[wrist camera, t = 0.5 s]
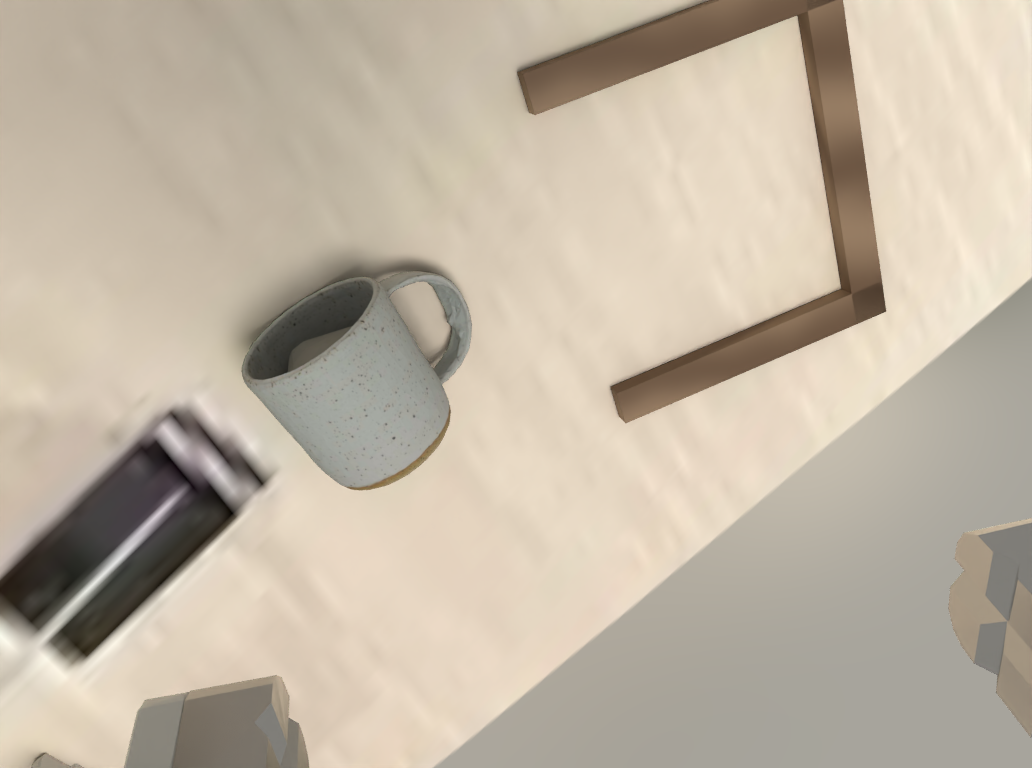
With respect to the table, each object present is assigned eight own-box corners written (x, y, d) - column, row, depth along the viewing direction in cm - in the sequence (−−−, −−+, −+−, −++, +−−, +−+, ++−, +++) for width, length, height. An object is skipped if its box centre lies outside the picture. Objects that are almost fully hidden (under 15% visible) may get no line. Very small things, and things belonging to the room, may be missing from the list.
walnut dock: (517, 72, 46) (523, 73, 45) (825, -43, 48) (836, -44, 47) (619, 416, 55) (625, 423, 54) (875, 306, 57) (886, 311, 56)
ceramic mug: (331, 458, 51) (351, 530, 44) (235, 343, 47) (240, 402, 41) (494, 345, 52) (538, 399, 45) (411, 222, 48) (445, 260, 41)
